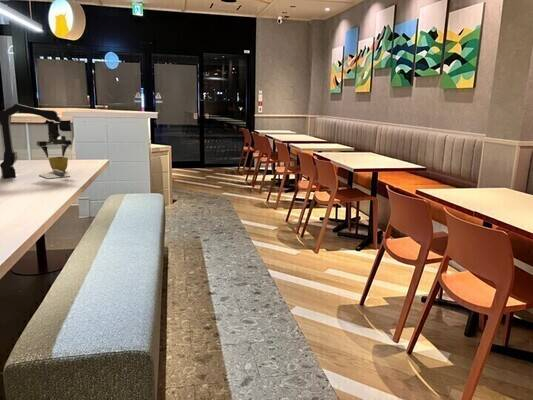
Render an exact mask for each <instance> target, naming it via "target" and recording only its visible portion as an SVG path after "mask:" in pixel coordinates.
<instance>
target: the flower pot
mask: <svg viewBox="0 0 533 400" xmlns="http://www.w3.org/2000/svg"><path fill="white" fill-rule="evenodd" d="M68 159H69V158H68V157H66V156H64V157H63V156H56V157H48V162H49V166H50V168H51V169H52V171H53V170H54V169H58V170H60V171H63V172H66V170H67V168H68V162H69V161H68Z"/></svg>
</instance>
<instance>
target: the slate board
mask: <svg viewBox="0 0 533 400" xmlns="http://www.w3.org/2000/svg"><path fill="white" fill-rule="evenodd" d="M64 174H65V173H64ZM38 176H39V177H41V178H43V179H47V180H53V179H54V178H55V179H62V178H70V177H71V175H69V174H65V176H59V175H56V174H53V172H52V173H44V174H39V175H38Z"/></svg>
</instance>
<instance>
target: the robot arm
mask: <svg viewBox="0 0 533 400" xmlns="http://www.w3.org/2000/svg"><path fill="white" fill-rule="evenodd" d="M18 112H22V113H26V114H31V115H36V116H39V117H42V118H44V119H46V120H45V121H44V122H43V124H44V125H47V136H48V141H47V140H37V141H36V146H37V147H39V148H41V149H42V151H43V153H44V154H45V157H46V158H48V159H49V152H48V145H50V146H51V145H54V146H57V145H61V155H62V156H61V157H65V154H66V151H67V148H68V147H70V145H72V140H71V139H70V140H69V139H66V136H65V135H60V132H59V130H60V131H61V132H72V131H73V128H72V127H73V126H72V121H71V119H68V120H62V118H60V117H59V114H58V112H57V111H56V110H53V109H41V108H36V107H32V106H28V105H23V104H20V103H16V104H14V105H12V106H10V107H9V108H6V109H3V110H2V109H1V110H0V126H1V130H2V138H3V144H4V146H3V147H4V153H3V161H2V162H1V163H0V173H1V176H0V177H1V178H2V179H11V178H16V177H17V176H16V175H17V174H16V169H15V167H14V164H16V162H17V161H18V159H19V158H18V152H17V151H14V148H13V147H14V146H13V139H12V138H13V137H12V132H11V131H12V130H11V122H12V116H14V114H16V113H18Z"/></svg>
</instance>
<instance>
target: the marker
mask: <svg viewBox="0 0 533 400" xmlns="http://www.w3.org/2000/svg"><path fill="white" fill-rule="evenodd" d="M52 173H53V174H56V175H59V176H65V171H60V170H58V169H54V170H53V169H52Z"/></svg>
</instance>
